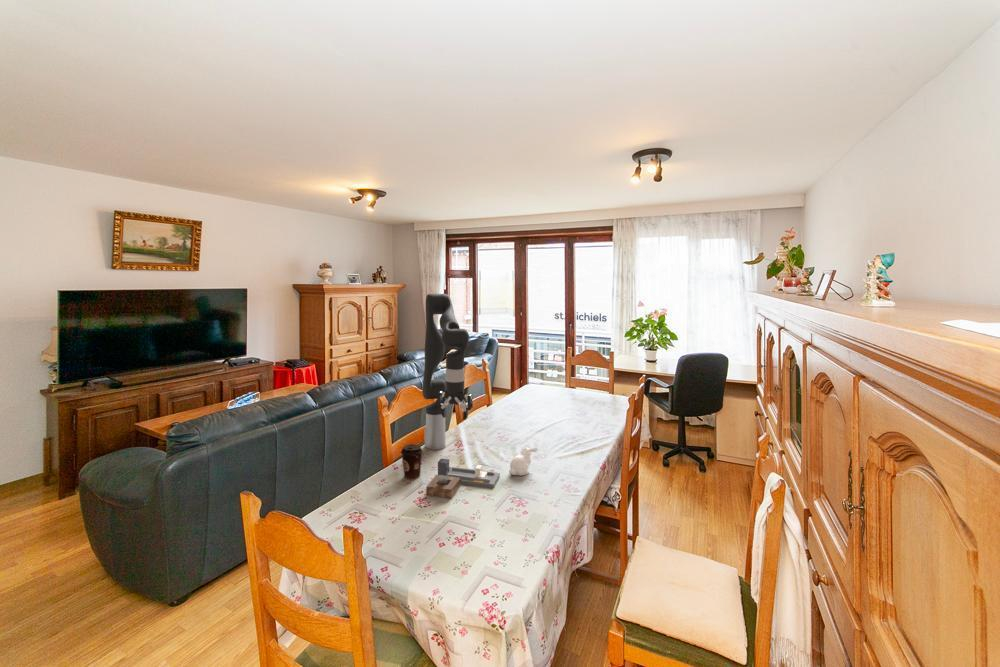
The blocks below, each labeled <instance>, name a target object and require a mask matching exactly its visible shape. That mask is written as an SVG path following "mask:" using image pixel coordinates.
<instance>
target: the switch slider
mask: <svg viewBox="0 0 1000 667" xmlns="http://www.w3.org/2000/svg"><path fill="white" fill-rule="evenodd" d="M474 469H475V477H480V478H486V476H487V472H483V471H484V470H483V464H477V465H476V467H474ZM482 470H483V471H482Z"/></svg>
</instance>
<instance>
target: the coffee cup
mask: <svg viewBox="0 0 1000 667" xmlns="http://www.w3.org/2000/svg"><path fill="white" fill-rule="evenodd" d="M423 453H424V452H423V449H422V447H421V445H418V444H411V443H410V444H406V445H404V446H403V447H402V450H400V454H402V457H401V459H402V467H403V468H402V469H403V472H404V474H403V475H404V479H406V480H411V481H412V480H417V479H418V478H420V477H421V468H422V466H421V465H422V456H423V455H422V454H423Z"/></svg>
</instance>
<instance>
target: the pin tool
mask: <svg viewBox="0 0 1000 667" xmlns="http://www.w3.org/2000/svg"><path fill="white" fill-rule="evenodd" d="M449 467H450V459H447V458H440V459H439V461H437V475H439V484H440V485H448V484H449Z"/></svg>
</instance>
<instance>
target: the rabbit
mask: <svg viewBox="0 0 1000 667" xmlns="http://www.w3.org/2000/svg"><path fill="white" fill-rule="evenodd" d="M537 449H538V447H537V446H536V447H526V446H524V447H523V448H522V449H521V451H520V454H519V455H516V456H514V457H512V459H511V461H510V463H509V464H510V465H509V467H510V468H509V471H508V472H509V474H510V475H512V476H519V477H522V475H523V476H526V475H529V474H528V473H530V472H529V471H528V470H529V467H530V465H531V463H532V460H531V458H532V457H531V453H537V451H538V450H537ZM525 474H526V475H525Z"/></svg>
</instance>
